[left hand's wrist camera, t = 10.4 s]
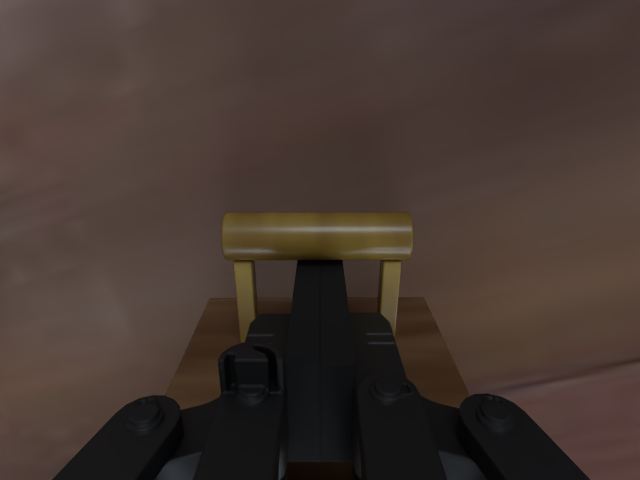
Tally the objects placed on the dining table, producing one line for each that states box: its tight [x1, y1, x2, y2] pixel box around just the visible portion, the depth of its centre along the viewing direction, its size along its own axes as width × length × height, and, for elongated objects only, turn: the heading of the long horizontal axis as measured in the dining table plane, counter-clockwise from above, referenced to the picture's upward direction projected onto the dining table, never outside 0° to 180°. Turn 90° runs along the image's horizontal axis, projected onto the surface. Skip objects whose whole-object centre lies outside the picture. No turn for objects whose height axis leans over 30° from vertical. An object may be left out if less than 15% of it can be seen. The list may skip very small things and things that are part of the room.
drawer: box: [165, 212, 470, 480], centre depth 18 cm, size 24×10×7 cm, turn 0°
